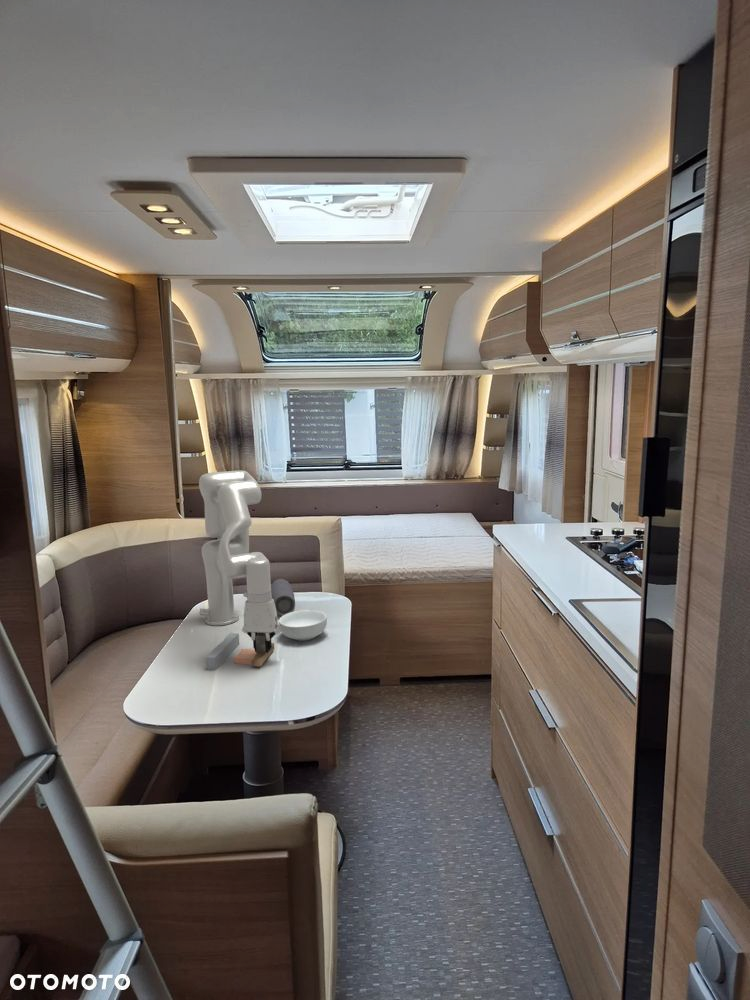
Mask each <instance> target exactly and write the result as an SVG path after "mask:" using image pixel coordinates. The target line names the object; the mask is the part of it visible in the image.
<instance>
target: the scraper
mask: <svg viewBox="0 0 750 1000" xmlns="http://www.w3.org/2000/svg"><path fill="white" fill-rule="evenodd" d="M265 641H266V633H258V634H257V635H256V653H257V654H256V655H255V656H254V657H253V658H252V660H251V664H250V665H251V667H262V665H263V664H264V663H265V662H266V660H267V659H268V658H269V656H270V655H271V654H272V652H274V650H275V642H272V648H271V649H270V651H269V652H268V653H266V645H265Z"/></svg>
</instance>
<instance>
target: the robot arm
mask: <svg viewBox="0 0 750 1000" xmlns="http://www.w3.org/2000/svg"><path fill="white" fill-rule="evenodd" d="M198 488H199V491H200V494H201V496H202V498H203V502H204V526H205V533H206V535H207V536H208V537H209V538H212V539H211V540H209V541H206V542H205V543H204V544H203V545H202V546H201V557H202V561H203V564H204V570H205V578H206V579H205V580H206V592H207V605H208V606H207V607H208V608H200V609H199V612H198V613H199V615H200V616H206V617H205V619H204V622H205V624H207V625H209V626H216V627H217V626H226V625H231V624H233V623H235V622H237V621H238V620H239V619H240V615H239V614H238V613H237V612H235V600H234V587H233V580H236V579H240V578H246V580H245V581H246V590H247V591H246V592H243V594H242V596H243V597H244V598H245V597H246V600H245V602H244V609H243V625H242V629H241V632H243V633H244V634H247V635H248V636H249V637H250V639H251V641H252V645H253V646H252V647H253V649H255V652H256V635H257V634H258V633H266V641H265V645H266V653H268V652H269V651H270V649H271V648H272V643H273V641H272V639H273V637H275V636H277V635H278V634H280V633H282V632H281V631H282V630H281V628H280V626H279V619H278V614H277V612H276V607H275V603H274V599H272V596H271V585H272V583H271V579H272V578H271V564H270V561H269V559H268V558H267V557H266V556H265V555H264V553H262V552H260V551H253V552H250V527H251V525H252V523H253V522H252V519H251V518H252V517H251V515H250V512H249V507H248V505H249V506H250V505H256V504H259V503H260V502H261V500H262V489H261V486H260V485H259V483H258V482H257V480H256V479H255V478H254V477H253V476H252V475H251V474H250V473H249V472H248V471H247V470H229V471H228V470H225V471H214V472H213V471H212V472H209V473H204V474H202V475H201V476H200V478H199V481H198ZM219 538H220V539H219Z"/></svg>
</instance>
